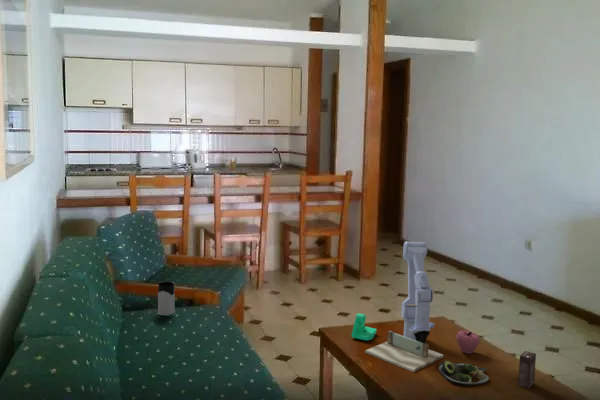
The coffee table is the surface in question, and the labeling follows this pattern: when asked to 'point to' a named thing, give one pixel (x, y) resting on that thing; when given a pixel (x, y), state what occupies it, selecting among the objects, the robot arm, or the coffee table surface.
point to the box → (527, 369)
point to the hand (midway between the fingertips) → (420, 347)
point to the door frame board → (403, 355)
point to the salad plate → (462, 373)
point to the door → (407, 343)
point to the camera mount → (362, 328)
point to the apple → (467, 341)
